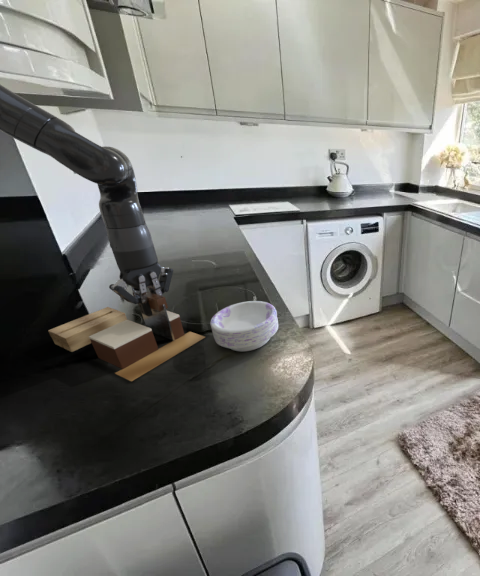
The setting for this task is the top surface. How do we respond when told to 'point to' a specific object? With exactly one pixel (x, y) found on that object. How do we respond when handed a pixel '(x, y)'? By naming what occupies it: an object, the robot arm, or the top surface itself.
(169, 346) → the cutting board
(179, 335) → the cake slice
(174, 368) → the top surface
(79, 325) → the knife block
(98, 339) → the loaf cake
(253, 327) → the paper bowls
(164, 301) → the cake cutter
